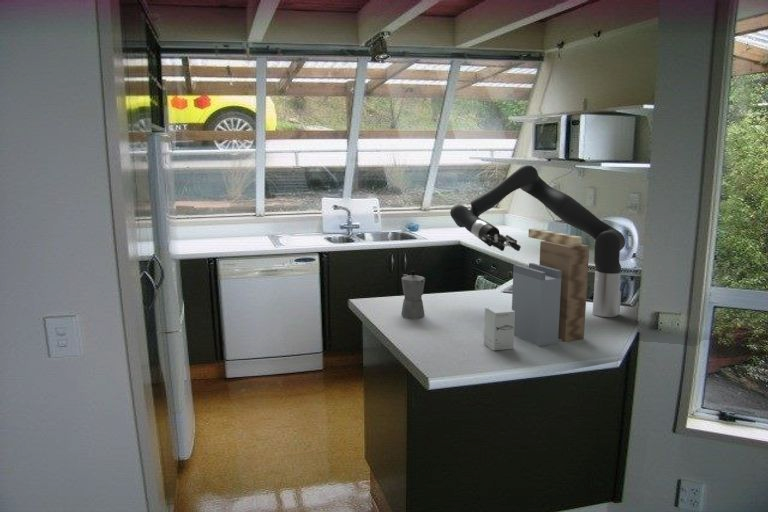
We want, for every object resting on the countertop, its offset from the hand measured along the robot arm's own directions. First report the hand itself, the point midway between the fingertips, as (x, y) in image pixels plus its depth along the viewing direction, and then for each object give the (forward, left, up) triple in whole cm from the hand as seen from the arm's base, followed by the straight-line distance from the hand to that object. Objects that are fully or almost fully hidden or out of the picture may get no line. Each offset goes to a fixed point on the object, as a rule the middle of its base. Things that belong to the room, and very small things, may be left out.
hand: (511, 248), depth 212 cm
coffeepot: (+35, -16, -27) cm, 47 cm away
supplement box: (+25, +29, -27) cm, 47 cm away
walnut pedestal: (-2, +27, -26) cm, 38 cm away
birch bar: (-2, +21, +6) cm, 22 cm away
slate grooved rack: (+9, +27, -26) cm, 39 cm away
